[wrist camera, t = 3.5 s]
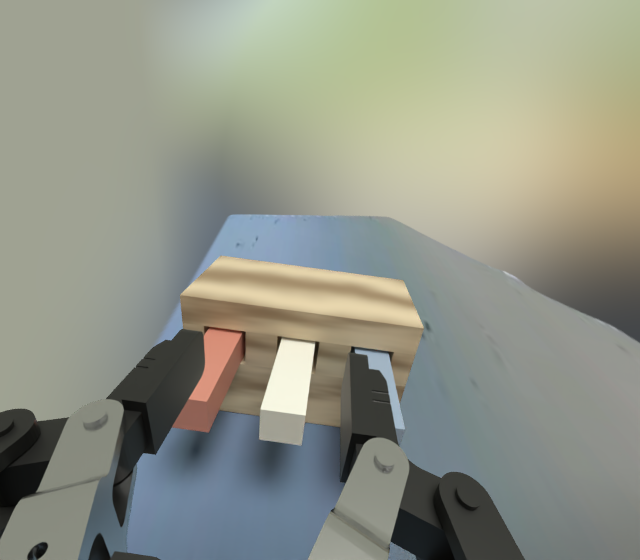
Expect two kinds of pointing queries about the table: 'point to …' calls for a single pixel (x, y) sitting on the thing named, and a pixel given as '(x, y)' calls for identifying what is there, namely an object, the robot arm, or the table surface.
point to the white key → (287, 393)
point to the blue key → (382, 363)
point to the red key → (213, 378)
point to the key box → (302, 325)
